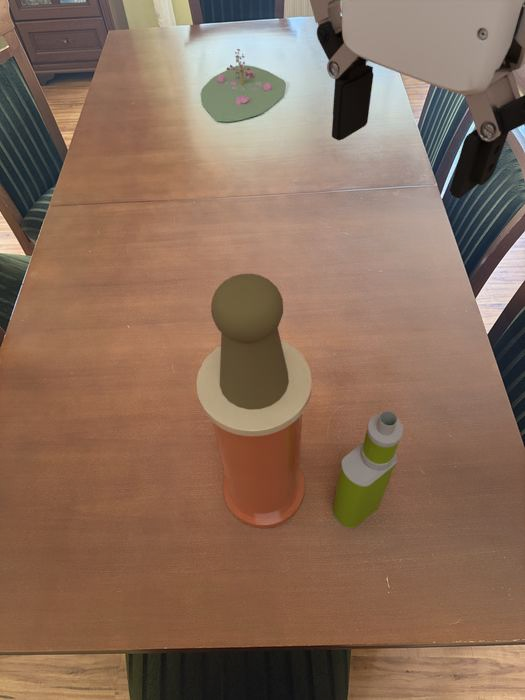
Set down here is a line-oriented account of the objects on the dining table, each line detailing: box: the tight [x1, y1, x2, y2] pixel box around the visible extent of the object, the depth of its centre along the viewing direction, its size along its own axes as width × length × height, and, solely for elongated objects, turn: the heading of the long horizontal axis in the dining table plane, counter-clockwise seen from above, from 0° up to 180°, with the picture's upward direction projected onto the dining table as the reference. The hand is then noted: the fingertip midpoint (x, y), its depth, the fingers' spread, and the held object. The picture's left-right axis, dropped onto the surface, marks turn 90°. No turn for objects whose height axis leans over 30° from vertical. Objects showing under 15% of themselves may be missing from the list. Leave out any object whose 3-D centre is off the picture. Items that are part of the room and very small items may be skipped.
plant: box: [200, 48, 286, 123], centre depth 120 cm, size 25×21×9 cm
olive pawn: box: [210, 273, 289, 410], centre depth 40 cm, size 6×6×11 cm
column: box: [196, 339, 313, 529], centre depth 54 cm, size 10×10×24 cm
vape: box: [332, 410, 404, 529], centre depth 53 cm, size 4×6×20 cm, turn 127°
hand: (404, 157), depth 34 cm, fingers open, 9 cm apart
